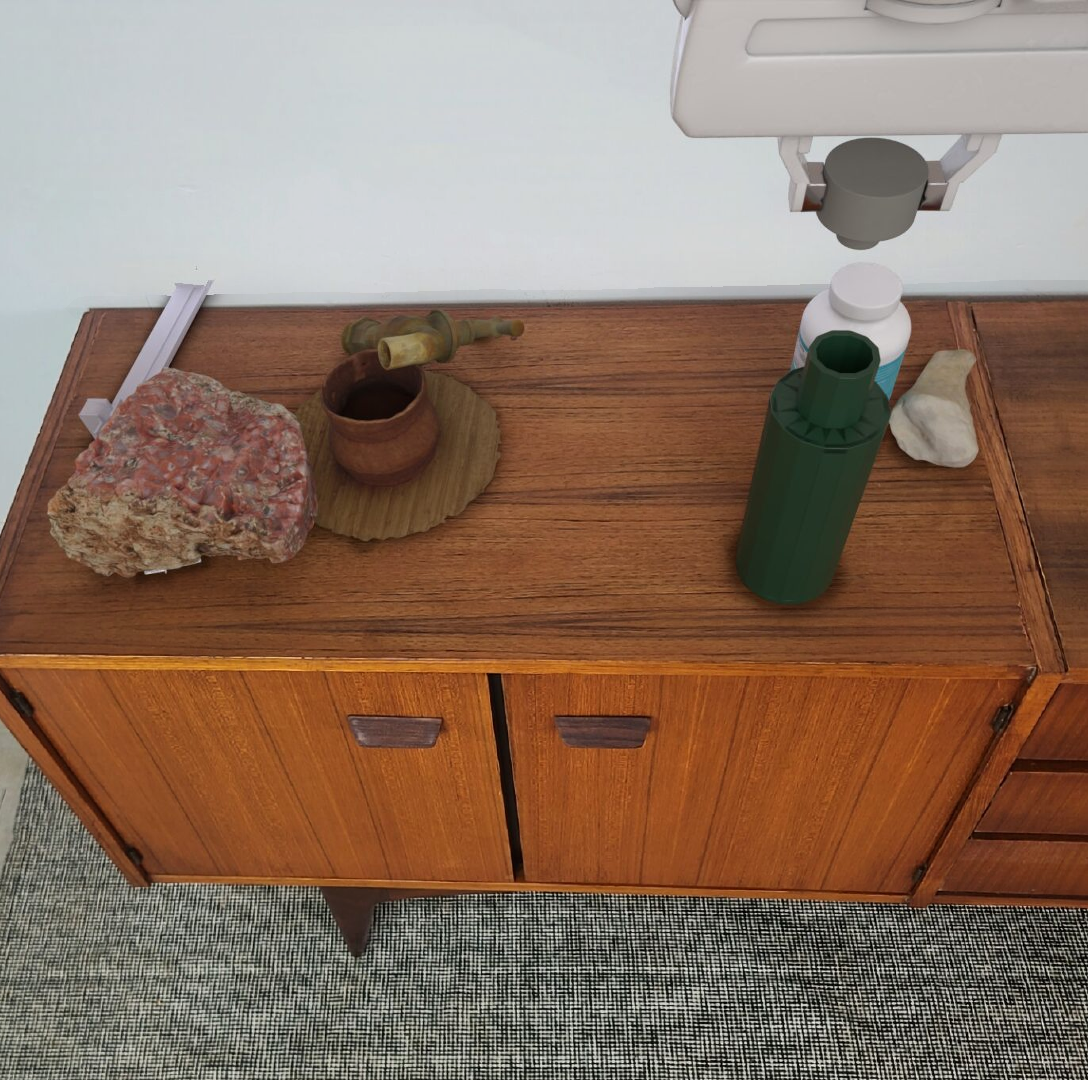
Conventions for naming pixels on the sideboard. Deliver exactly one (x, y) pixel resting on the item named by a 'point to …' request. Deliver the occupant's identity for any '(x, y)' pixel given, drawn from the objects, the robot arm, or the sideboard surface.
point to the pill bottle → (861, 316)
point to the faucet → (421, 337)
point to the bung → (871, 191)
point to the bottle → (812, 468)
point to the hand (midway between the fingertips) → (867, 204)
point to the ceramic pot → (395, 447)
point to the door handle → (151, 351)
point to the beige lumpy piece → (938, 413)
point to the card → (162, 570)
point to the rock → (187, 481)
